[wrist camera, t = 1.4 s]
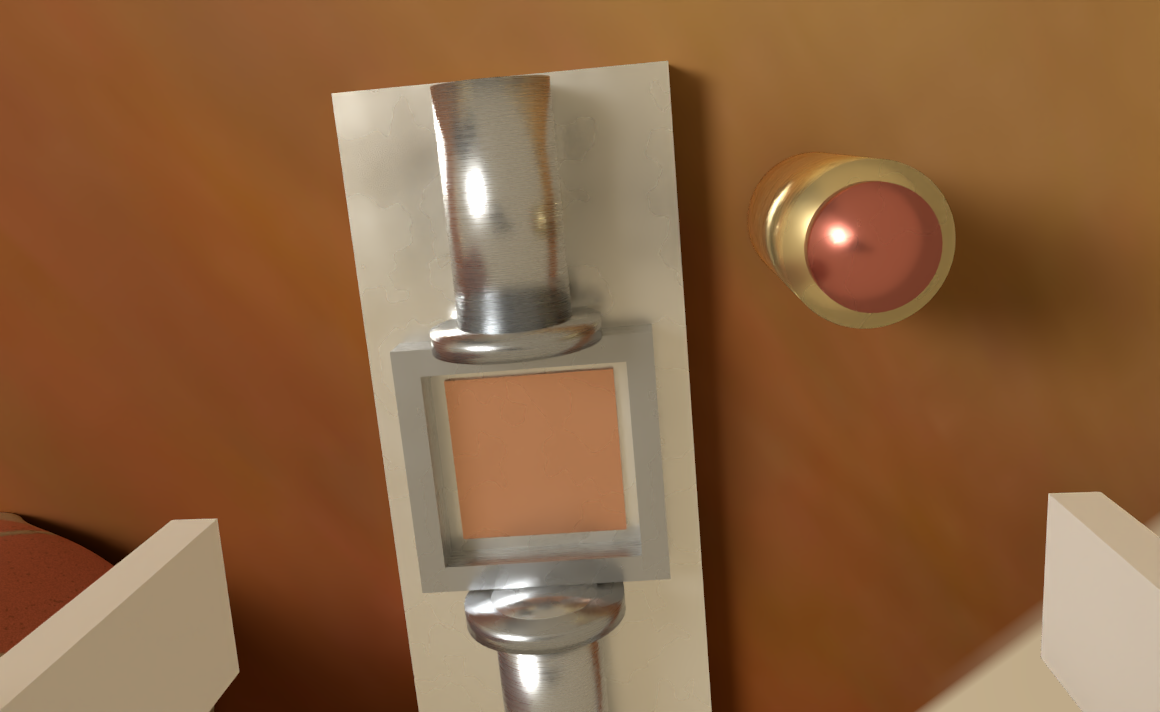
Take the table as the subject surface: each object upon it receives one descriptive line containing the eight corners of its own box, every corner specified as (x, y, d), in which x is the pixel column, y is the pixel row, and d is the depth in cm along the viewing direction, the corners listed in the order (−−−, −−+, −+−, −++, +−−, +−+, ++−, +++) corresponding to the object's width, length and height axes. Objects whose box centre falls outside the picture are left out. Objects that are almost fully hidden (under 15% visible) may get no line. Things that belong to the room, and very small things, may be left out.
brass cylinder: (744, 158, 36) (783, 167, 26) (876, 146, 35) (964, 151, 26) (750, 286, 37) (790, 340, 27) (879, 276, 36) (965, 327, 27)
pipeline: (343, 95, 36) (281, 87, 30) (666, 63, 35) (673, 48, 29) (435, 757, 42) (400, 868, 36) (712, 745, 41) (726, 856, 35)
